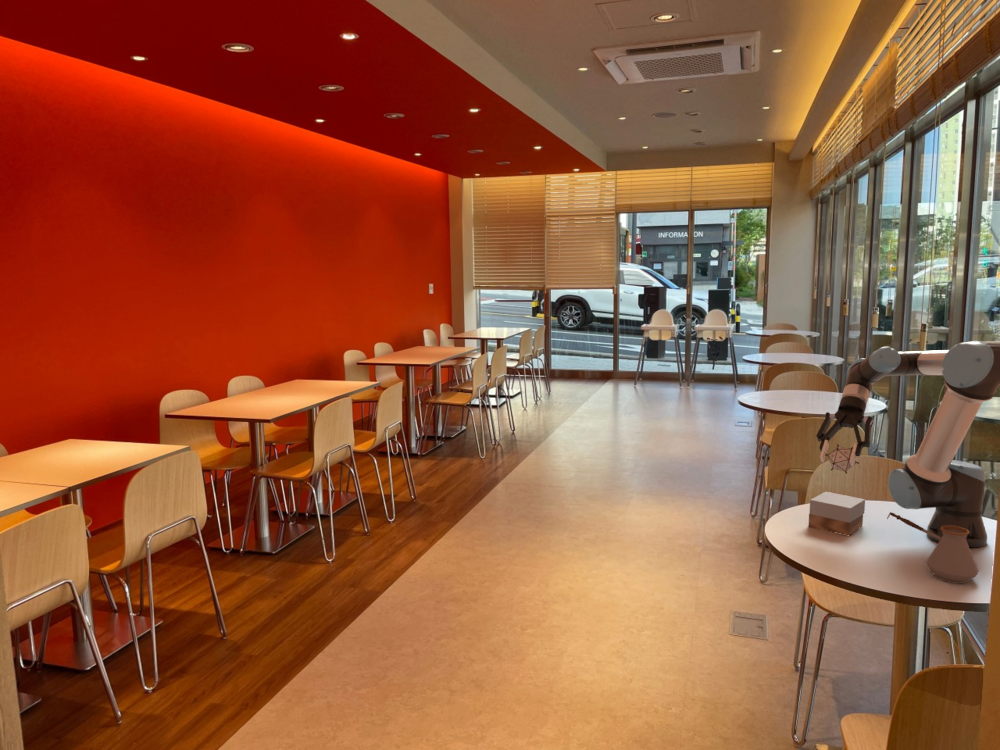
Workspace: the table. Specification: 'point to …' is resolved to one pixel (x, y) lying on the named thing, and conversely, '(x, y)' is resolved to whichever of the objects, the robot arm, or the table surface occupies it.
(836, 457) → the game die
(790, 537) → the table surface
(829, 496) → the tower top slab
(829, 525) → the tower bottom slab
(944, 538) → the coffee pot
